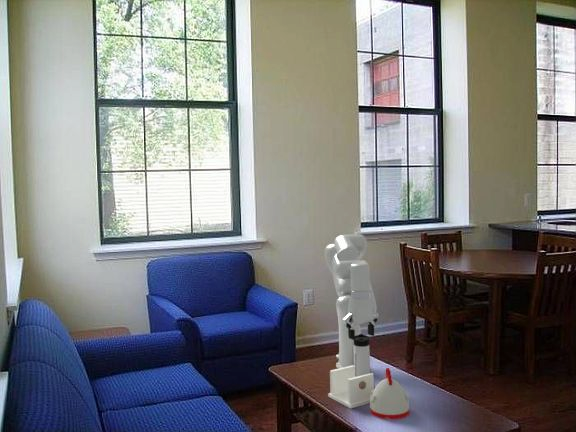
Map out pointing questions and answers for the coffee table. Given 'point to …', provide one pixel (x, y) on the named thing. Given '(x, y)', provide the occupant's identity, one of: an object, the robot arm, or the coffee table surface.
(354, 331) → the robot arm
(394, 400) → the kitchen timer
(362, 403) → the holder
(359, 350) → the travel mug
